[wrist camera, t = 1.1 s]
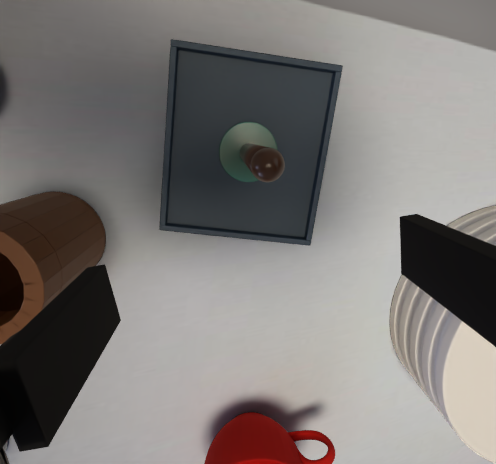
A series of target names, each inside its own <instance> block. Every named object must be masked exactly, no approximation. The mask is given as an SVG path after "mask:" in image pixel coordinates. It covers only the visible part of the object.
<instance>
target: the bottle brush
mask: <svg viewBox="0 0 496 464" xmlns="http://www.w3.org/2000/svg"><path fill="white" fill-rule="evenodd" d="M219 158H220V162H221V165H222V166H223V168H224V170H225V171H226V172H227V173H228V174H229V175H230V176H231V177H233V178H234V179H236V180H238V181H242V182H255V181H258V180H260V181H262V182H273V181H275V180H277V179H278V178H279V177H280V176H281V175H282V174H283V171H284V168H285V162H284V158H283V156H282V155H281V153H280V152H279V151H278V148H277V143H276V140H275V138H274V136H273V135H272V133H271V132H270V131H269V130H268V129H267V128H266V127H264V126H263V125H261V124H258V123H255V122H242V123H239V124H236V125H234V126H233V127H231V128H230V129H229V130H228V131H227V132H226V133H225V134H224V136H223V138H222V140H221V142H220V146H219Z"/></svg>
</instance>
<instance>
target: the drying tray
mask: <svg viewBox="0 0 496 464" xmlns="http://www.w3.org/2000/svg"><path fill="white" fill-rule="evenodd" d="M342 67H343V66H341V65H335V64H328V63H322V62H315V61H309V60H302V59H296V58H290V57H283V56H277V55H270V54H264V53H257V52H251V51H244V50H238V49H231V48H225V47H218V46H212V45H205V44H199V43H192V42H186V41H179V40H173V39H171V48H170V64H169V81H168V97H167V114H166V130H165V146H164V163H163V179H162V196H161V212H160V230H165V231H174V232H184V233H194V234H203V235H213V236H223V237H232V238H242V239H252V240H261V241H271V242H281V243H290V244H300V245H310V244H311V239H312V233H313V228H314V222H315V217H316V211H317V206H318V200H319V194H320V189H321V183H322V178H323V172H324V167H325V161H326V156H327V150H328V145H329V139H330V133H331V128H332V122H333V117H334V111H335V106H336V100H337V95H338V89H339V84H340V78H341V72H342ZM242 122H255V123H258V124H261V125H263V126H264V127H266V128H267V129H268V130H269V131H270V132H271V133H272V135H273V136H274V138H275V140H276V143H277V148H278V151H279V152H280V153H281V155H282V156H283V158H284V162H285V168H284V171H283V174H282V175H281V176H280V177H279V178H278V179H277V180H275V181H273V182H262V181H260V180H258V181H255V182H242V181H238V180H236V179H234V178H233V177H231V176H230V175H229V174H228V173H227V172H226V171H225V170H224V168H223V166H222V165H221V162H220V158H219V146H220V142H221V140H222V138H223V136H224V134H225V133H226V132H227V131H228V130H229V129H230V128H231V127H233V126H234V125H236V124H239V123H242Z"/></svg>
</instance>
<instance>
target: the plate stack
mask: <svg viewBox="0 0 496 464" xmlns="http://www.w3.org/2000/svg"><path fill="white" fill-rule="evenodd" d="M447 226H448V227H450V228H453V229H455V230H458V231H460V232H463V233H465V234H468V235H470V236H473V237H475V238H478V239H480V240H483V241H485V242H488V243H490V244H493V245H495V246H496V206H491V207H487V208H484V209H480V210H477V211H475V212H472V213H470V214H467V215H465V216H463V217H461V218H459V219H457V220H455V221H454V222H452V223H450V224H449V225H447ZM390 332H391V338H392V342H393V346H394V349H395V351H396V354H397V356H398V358H399V359H400V361H401V363H402V364H403V366H404V367H405V368H406V370H407V371H408V372H409V373H410V375H411V376H412V377H413V379H414V380H415V381H416V383H417V384H418V385H419V386H420V388H421V389H422V390H423V391H424V393H425V394H426V395H427V397H428V398H429V399H430V401H431V402H432V403H433V404H434V405H435V407H436V408H437V409H438V411H439V412H440V413H441V415H442V416H443V417H444V419H445V420H446V421H447V422H448V423H449V425H450V426H451V427H452V429H453V430H454V431H455V433H456V434H457V435H458V437H459V438H460V439H461V440H462V441H463V442H464V443H465V444H466V445H467V446H468V447H469V448H470V449H471V450H472V451H474V452H475V453H476V454H478V455H479V456H481V457H483V458H484V459H486V460H488V461H490V462H493V463H495V464H496V347H495V346H494V345H492V344H491V343H490V342H488V341H487V340H486V339H485V338H483V337H482V336H481V335H479V334H478V333H477V332H476V331H474V330H473V329H472V328H470V327H469V326H468V325H467V324H465V323H464V322H463V321H461V320H460V319H459V318H458V317H456V316H455V315H454V314H452V313H451V312H450V311H449V310H447V309H446V308H445V307H443V306H442V305H441V304H440V303H438V302H437V301H436V300H434V299H433V298H432V297H431V296H429V295H428V294H427V293H425V292H424V291H423V290H422V289H420V288H419V287H418V286H416V285H415V284H414V283H413V282H411V281H410V280H409V279H407V278H406V277H405V276H404V275H402V276H401V278H400V280H399V282H398V285H397V287H396V290H395V293H394V296H393V300H392V305H391V312H390Z"/></svg>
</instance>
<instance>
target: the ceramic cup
mask: <svg viewBox="0 0 496 464" xmlns="http://www.w3.org/2000/svg"><path fill="white" fill-rule="evenodd" d="M299 440H318V441H321V442H323V443H324V444H326V445H327V446H328V452H327V454H326V455H325V456H324V457H323V458H321V459H318V460H309V459H307V458H305V457H304V456H303V455H302V454H301V453H300V452H299V450H298V448H297V446H296V444H295V442H294V441H299ZM334 458H335V449H334V446H333V444H332V442H331V441H330V439H329V438H328V437H327V436H325V435H324V434H322V433H320V432H317V431H312V430H303V431H294V432H287V431H286V430H285V429H284V428H283V427H282V426H281V425H280V424H279V423H277V422H276V421H274V420H273V419H271V418H269V417H267V416H264V415H263V414H260V413H255V412H248V413H243V414H240V415H238V416H236V417H235V418H234V419H232V420H231V421H230V422H228V423H227V424H226V425H225V426H224V427H223V428H222V429H221V430H220V431H219V432H218V434H217V435H216V437H215V438H214V440H213V442H212V444H211V446H210V448H209V450H208V453H207V456H206V460H205V464H332V463H333V461H334Z"/></svg>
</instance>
